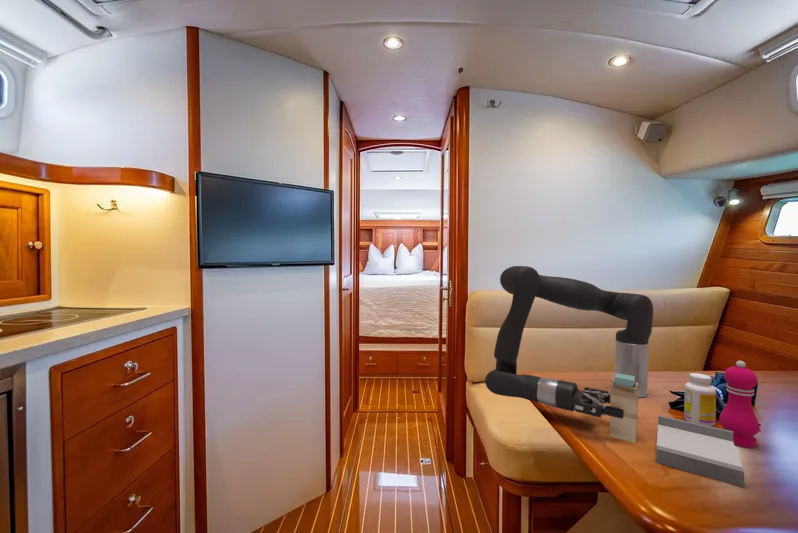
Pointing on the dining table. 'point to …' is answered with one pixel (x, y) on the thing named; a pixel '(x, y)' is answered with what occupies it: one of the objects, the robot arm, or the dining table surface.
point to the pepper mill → (740, 405)
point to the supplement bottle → (700, 400)
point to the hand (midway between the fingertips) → (625, 408)
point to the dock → (698, 450)
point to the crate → (629, 403)
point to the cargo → (625, 380)
